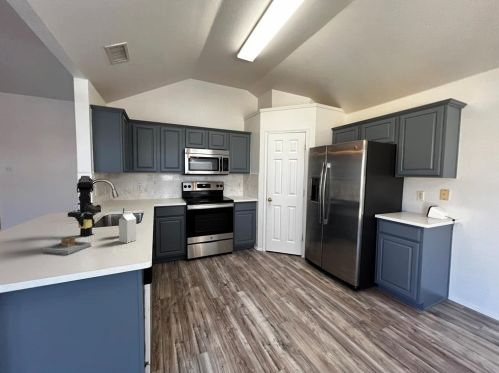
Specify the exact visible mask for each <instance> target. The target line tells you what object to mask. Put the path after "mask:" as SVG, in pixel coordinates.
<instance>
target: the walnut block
mask: <svg viewBox="0 0 499 373" xmlns="http://www.w3.org/2000/svg"><path fill="white" fill-rule="evenodd" d="M60 241H61V242H60V243H61V245H62V247H70V246H73V245H75V241H76V237H73V236H72V237H71V236H68V237H64V238H61V240H60Z"/></svg>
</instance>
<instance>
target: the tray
mask: <svg viewBox="0 0 499 373" xmlns="http://www.w3.org/2000/svg"><path fill="white" fill-rule="evenodd" d="M91 246H92V244H91V242H89V241H88V242H87V241H76V240H75V245H73V246H70V247H62V245H61V242H59V243H56V244H53V245H49V246H46V247H43V248H42V253H43V254H50V255H51V254H53V255H55V254H56V255H63V256H70V255H72V254H75V253H78V252H80V251H83V250H86V249H88V248H92V247H91Z"/></svg>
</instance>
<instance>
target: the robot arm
mask: <svg viewBox="0 0 499 373" xmlns="http://www.w3.org/2000/svg"><path fill="white" fill-rule="evenodd" d="M93 180H94V179H92V178H91V176H90V175H81V176H80V178H79V179H78V180H77V182H78V183H76V193H77V194H78V193H79V194H78V195H79V196H78V201H79V202H77V206H79V209H77V210H75V211H68V212H67V217H68V218H74V219H75V220H76V221H77V222H78V225H79V224H80V226H81V227H83V222H84V220H85V219H87V220H92V227H89V228H79V229H80V230H79V235H78V236H79V237H91V236H93V235H95V233H93V227H95V226H96V225H95V224H96V223H95V222H96V221H95V219H94V217H95V216H97V214H98V213H102V205H101V204H96V205H94V203H93V202H91V201H92V200H91V199H92V196H91V193H93V192H94V191H95V190H94V181H93Z"/></svg>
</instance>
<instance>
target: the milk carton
mask: <svg viewBox="0 0 499 373" xmlns="http://www.w3.org/2000/svg"><path fill="white" fill-rule="evenodd" d="M121 216H122V217H121V218H120V219H119V225H118V242H119V243H123V242H124V244H129V243H132V242H135V241H137V217H136V216H135V215H134V213H133V211H131V212H124V214H123V213H122V215H121ZM134 240H135V241H134ZM131 241H132V242H131ZM128 242H129V243H128Z"/></svg>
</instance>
